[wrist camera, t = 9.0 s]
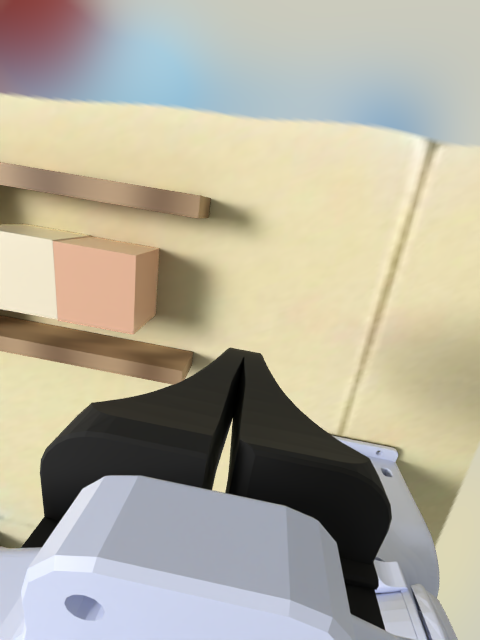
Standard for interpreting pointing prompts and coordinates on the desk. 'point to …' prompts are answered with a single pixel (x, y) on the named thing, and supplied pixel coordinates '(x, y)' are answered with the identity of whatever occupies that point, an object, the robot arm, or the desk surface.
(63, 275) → the pink cube-like block
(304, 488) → the robot arm
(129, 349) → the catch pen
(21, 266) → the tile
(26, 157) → the desk surface
